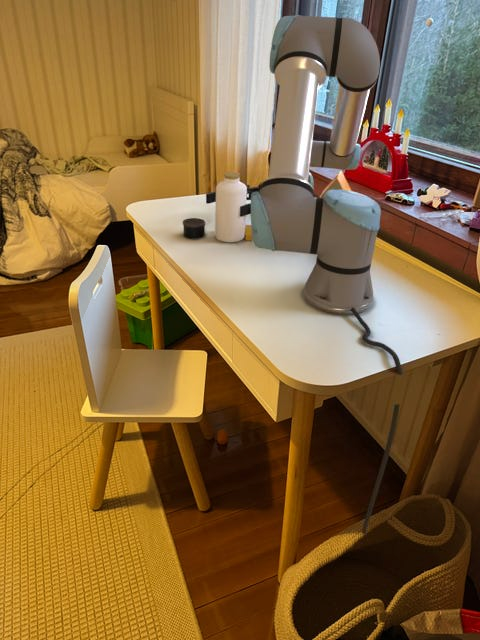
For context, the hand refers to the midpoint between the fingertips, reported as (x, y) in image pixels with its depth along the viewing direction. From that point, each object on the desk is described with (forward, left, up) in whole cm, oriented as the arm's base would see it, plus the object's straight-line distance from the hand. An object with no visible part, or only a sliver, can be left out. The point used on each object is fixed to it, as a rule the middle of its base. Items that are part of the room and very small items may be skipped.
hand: (222, 204), depth 132 cm
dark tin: (0, +8, -9) cm, 12 cm away
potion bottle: (-2, -2, -9) cm, 10 cm away
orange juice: (-8, -29, -2) cm, 30 cm away
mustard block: (+1, -9, -9) cm, 13 cm away
